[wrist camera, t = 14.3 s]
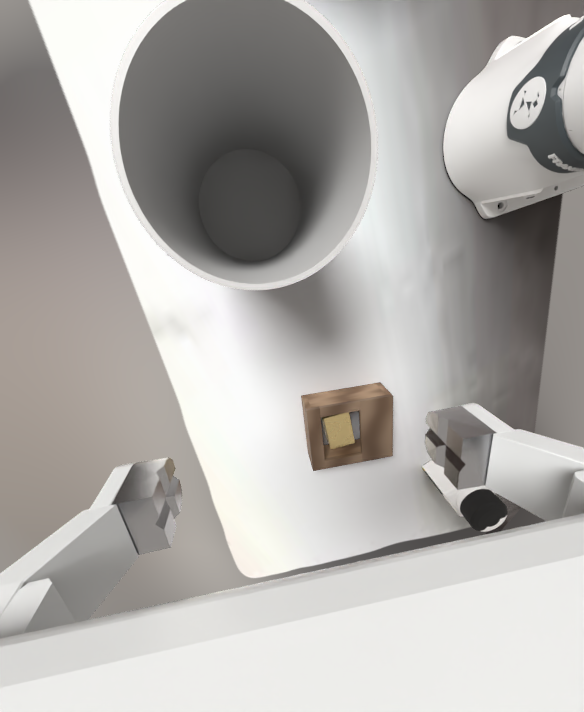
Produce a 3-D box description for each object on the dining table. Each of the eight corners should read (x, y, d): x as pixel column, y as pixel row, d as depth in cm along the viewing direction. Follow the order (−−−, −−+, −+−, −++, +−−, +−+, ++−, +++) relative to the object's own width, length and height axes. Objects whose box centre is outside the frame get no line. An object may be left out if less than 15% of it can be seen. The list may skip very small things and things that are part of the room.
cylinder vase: (237, 125, 34) (211, -120, 11) (320, 201, 38) (427, 138, 15) (179, 219, 37) (58, 179, 14) (262, 282, 41) (277, 333, 18)
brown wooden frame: (380, 382, 49) (392, 395, 44) (380, 438, 53) (392, 455, 48) (301, 395, 48) (306, 410, 43) (308, 452, 52) (313, 470, 47)
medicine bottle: (420, 466, 56) (462, 521, 45) (452, 443, 55) (503, 494, 44) (437, 487, 59) (481, 544, 48) (468, 466, 58) (521, 519, 47)
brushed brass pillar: (342, 400, 49) (348, 411, 46) (348, 430, 51) (355, 442, 48) (318, 407, 49) (323, 418, 46) (325, 436, 51) (330, 449, 48)
